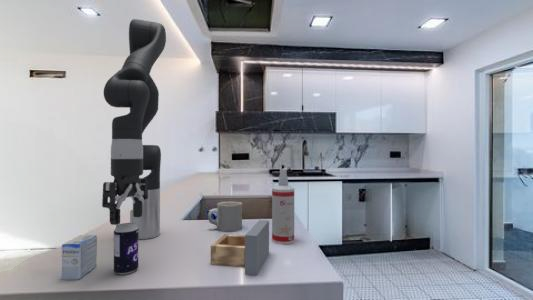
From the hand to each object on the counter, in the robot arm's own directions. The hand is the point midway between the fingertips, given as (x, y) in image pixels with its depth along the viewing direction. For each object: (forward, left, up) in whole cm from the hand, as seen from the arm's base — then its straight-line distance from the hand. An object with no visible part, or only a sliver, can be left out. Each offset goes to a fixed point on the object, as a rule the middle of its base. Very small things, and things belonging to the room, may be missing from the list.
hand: (127, 220), depth 73 cm
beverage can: (0, 0, -13) cm, 13 cm away
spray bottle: (+36, +33, -13) cm, 50 cm away
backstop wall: (+32, +12, -13) cm, 36 cm away
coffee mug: (+11, +44, -13) cm, 47 cm away
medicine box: (-11, -3, -13) cm, 18 cm away
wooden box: (+25, +14, -13) cm, 31 cm away
